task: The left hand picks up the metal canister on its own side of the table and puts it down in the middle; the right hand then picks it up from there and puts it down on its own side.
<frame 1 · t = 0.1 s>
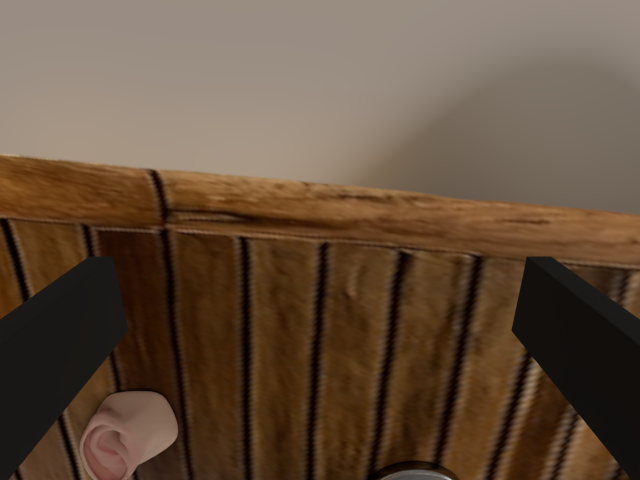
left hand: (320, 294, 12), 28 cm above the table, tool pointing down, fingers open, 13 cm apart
anatomical model: (134, 425, 51), on the table
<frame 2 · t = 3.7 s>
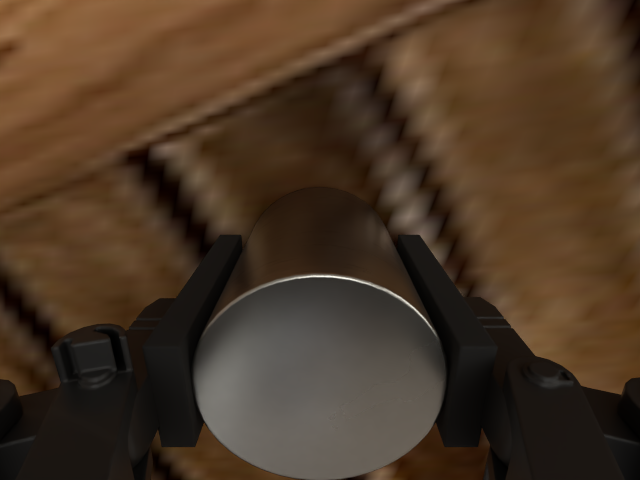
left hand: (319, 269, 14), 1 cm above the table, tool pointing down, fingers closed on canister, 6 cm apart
canister: (319, 256, 15), on the table, touching left hand
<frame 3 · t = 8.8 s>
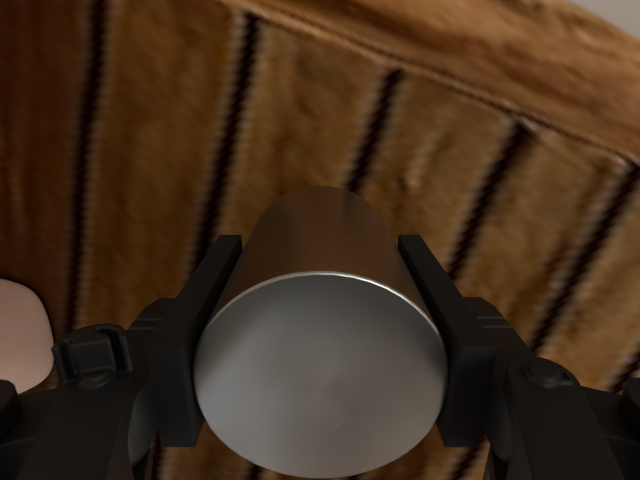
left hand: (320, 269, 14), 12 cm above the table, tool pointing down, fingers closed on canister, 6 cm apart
canister: (320, 255, 15), point 11 cm above the table, touching left hand
when the left hand's fingers open (3 cm above the table, at t = 13.7 s): canister drops 2 cm, on the table.
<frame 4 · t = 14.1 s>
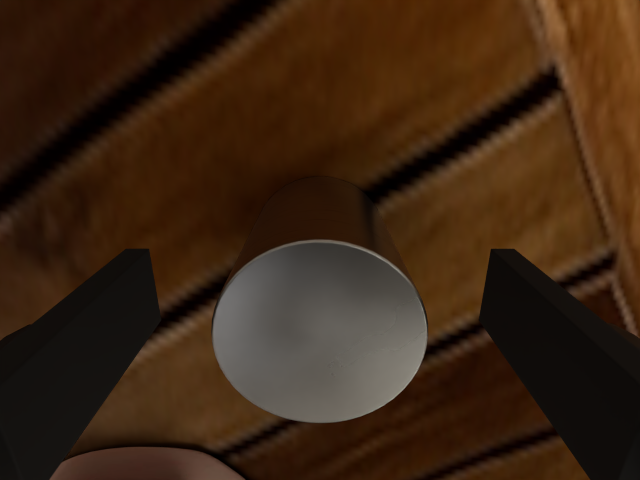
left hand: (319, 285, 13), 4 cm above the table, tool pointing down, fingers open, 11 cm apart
canister: (319, 239, 17), on the table
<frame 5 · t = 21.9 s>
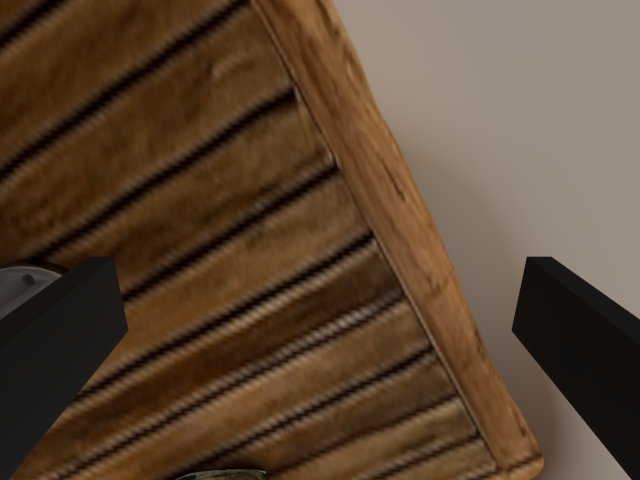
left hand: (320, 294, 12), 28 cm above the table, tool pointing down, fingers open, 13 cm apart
when the right hand's fingers open (3 cm above the table, at t = 27.7 s): canister drops 2 cm, on the table.
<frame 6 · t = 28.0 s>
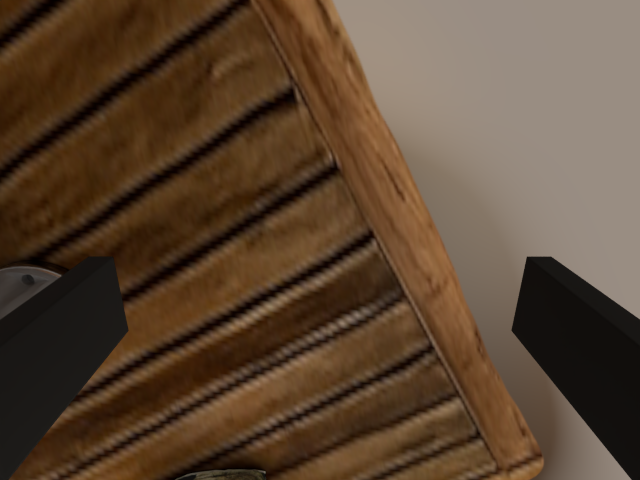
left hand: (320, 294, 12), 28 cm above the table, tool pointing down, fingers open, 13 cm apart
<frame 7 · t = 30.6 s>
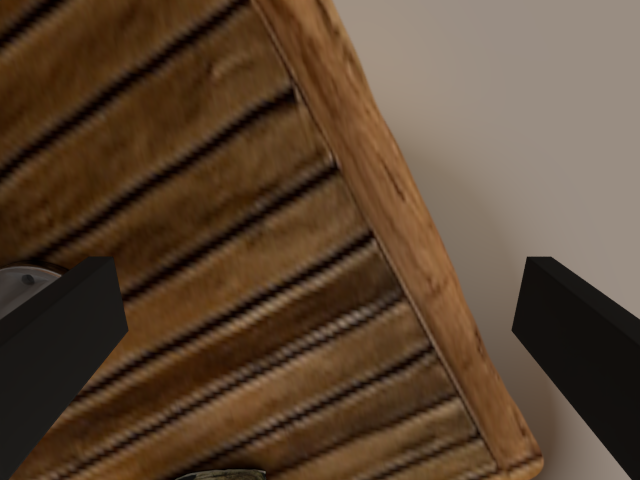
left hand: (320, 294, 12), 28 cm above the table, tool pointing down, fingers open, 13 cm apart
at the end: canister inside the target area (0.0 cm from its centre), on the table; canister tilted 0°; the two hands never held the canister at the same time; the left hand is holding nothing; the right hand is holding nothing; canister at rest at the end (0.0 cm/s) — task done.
